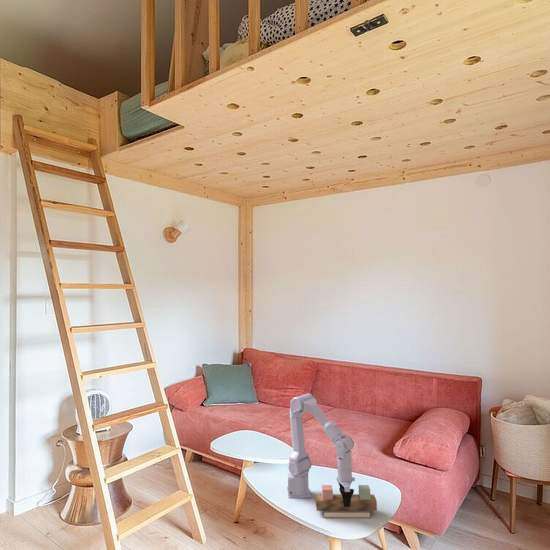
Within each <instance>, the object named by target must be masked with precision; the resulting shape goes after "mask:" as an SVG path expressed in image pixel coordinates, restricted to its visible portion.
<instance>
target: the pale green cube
mask: <svg viewBox="0 0 550 550" xmlns="http://www.w3.org/2000/svg"><path fill="white" fill-rule="evenodd" d="M358 494H359V497H360V500H371V496H370V494H371V488H370V485H369V484H358Z"/></svg>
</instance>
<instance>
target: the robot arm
mask: <svg viewBox="0 0 550 550" xmlns="http://www.w3.org/2000/svg"><path fill="white" fill-rule="evenodd" d="M289 405H290V407H289V421H290V423H289V424H290V432H291V443H292V445H291V446H292V452H291V454H290V456H289V459H288V460H289V461H288V471H289V472H288V473H287V486H286V488H287V494H288V495H287V497H288V499H311V494H310V493H311V492H310V487H309V473H310V469H311V468H312V464H313V463H312V460H311V458H310V453H309V452H307V451H306V446H305V436H304V435H305V433H304V424H303V415H304V413H305V414H310V415H312V416H313V417H314V419H316V420H317V422H319V423H320V425H321V426H323V432H324V433H325V435H326V436H327V437H328V438H329V440H330V441H331V442H332V444H334V445H333V448H334V450H335V453H336V456H337V458H336V459H337V462H336V463H337V477H336V481H337V483H338V485H339V488H338V489H339V493H340V494H341V495H342V498H343V504H344V507H350V502H351V497H352V495H353V494H354V492H355V489H354V488H351V485H352V483H353V482H355V481H356V478H355V477H354V476H353V471H352V469H353V468H352V465H353V463H352V449H354V446H355V444H354V440H353V438H352V437H351V436H350V435H348V434H345V433H344V432H343V431H342V429H340V428H339V426H338V424H337V423H336V422H334V421H331V420H329V418H328V417H327V416H326V414H325V413H324V411H323V410H322V409H321V408H320V407H319V405H318V402H317V399H316V398H315V397H314V395H313V394H311V393H310V392H309V393H305V394H302V395H299V396H294V397H293V398H292V399H291V400H289Z"/></svg>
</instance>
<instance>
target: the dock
mask: <svg viewBox="0 0 550 550" xmlns="http://www.w3.org/2000/svg"><path fill="white" fill-rule="evenodd" d="M322 512H323V516H324V518H371V511H322Z"/></svg>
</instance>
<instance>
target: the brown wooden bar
mask: <svg viewBox="0 0 550 550" xmlns="http://www.w3.org/2000/svg"><path fill="white" fill-rule="evenodd" d="M370 496H371V500H360V497H359V493H358V494H357V493H356V494H354V493H353V495H352V497H351V502H350V507H344V504H343V498H342V495H341V493H340V494H339V493H337V494H335V493H333V500H323V497H322V493H321V494H320V493H318V494H316V493H315V507H316V512H317V511H319V512H323V511H369V512H377V511H378V508H377V507H378V506H377V505H378V504H377V502H378V501H377V498H376V496H375V494H373V493H372V494H371V493H370Z"/></svg>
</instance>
